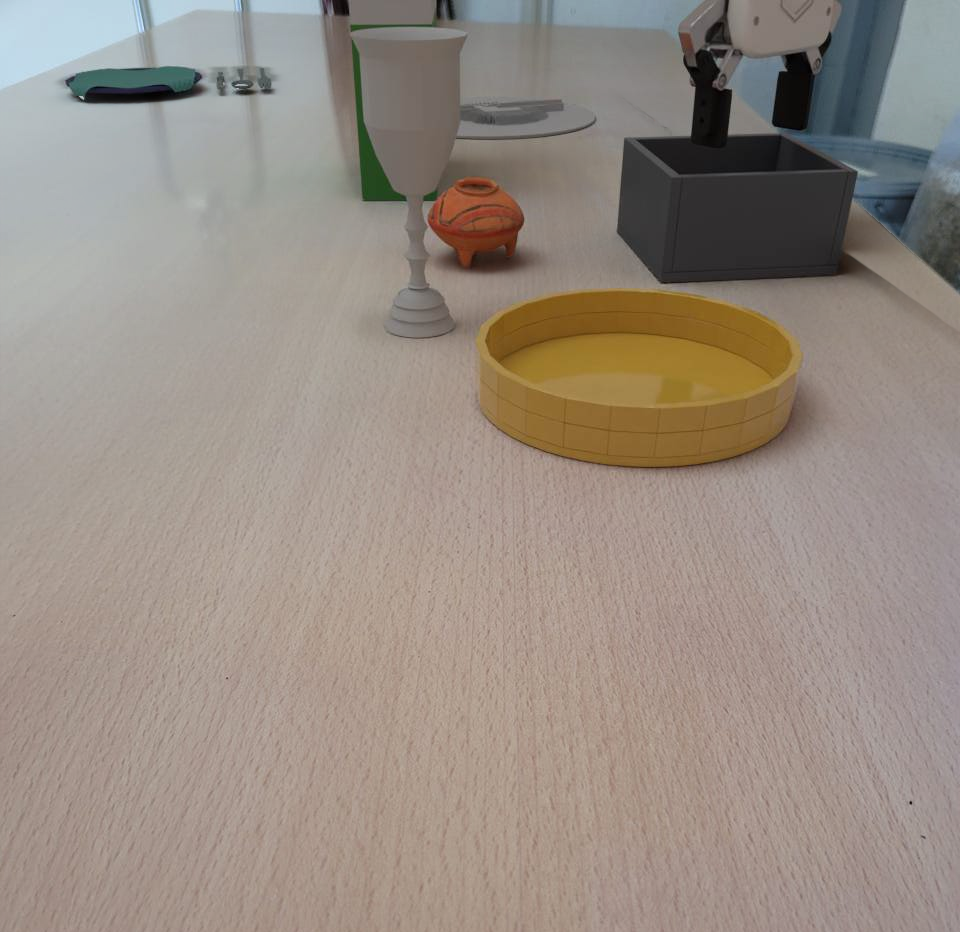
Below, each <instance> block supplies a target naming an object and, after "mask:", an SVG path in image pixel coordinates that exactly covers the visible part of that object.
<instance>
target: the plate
mask: <svg viewBox="0 0 960 932" xmlns="http://www.w3.org/2000/svg"><path fill="white" fill-rule="evenodd" d="M595 121H596V115H595V113H594V111H592V110H590V109H588V108H586V107H583V106H580V105H577V104H572V103H567V102H563V99H562V98H557V99H556V98H553V99H552V98H551V99H549V98H548V99H538V98H537V99H536V98H525V97H510V96H509V97H506V96H469V97H460V125H459V129H458V132H457V136H456V139H467V140H468V139H469V140H514V139H515V140H517V139H531V138H532V139H533V138H542V137H550V136H556V135H563V134H568V133H572V132H576V131H579V130H582V129H584V128H587V127H590V126H591V125H592V124H594V123H595Z"/></svg>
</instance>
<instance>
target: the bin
mask: <svg viewBox="0 0 960 932" xmlns="http://www.w3.org/2000/svg"><path fill="white" fill-rule="evenodd" d="M621 161H622V162H621V175H620V184H619V185H620V187H619V200H618V212H617V225H616V232H617V234H618V235H619V236H620V237H621V238H622V240H623V241H624V242H625V243H626V244H627V245H628V246H629V248H630V249H631V250H632V251H633V252H634V254H635V255H636V256H637V257H638V258H639V260H641V262H642V264H644V265H645V266H646V267H647V269H648V270H649V271H650V272H651V274H652V275H653V276H654V277H655V278H656V279H657V280H658V281H659V283H661V284H667V283H670V284H671V283H688V282H689V283H691V282H713V281H716V282H717V281H734V280H735V281H736V280H755V279H757V280H758V279H759V280H760V279H779V278H800V277H801V276H805V277H822V276H821V275H827V276H836V275H837V273H838V269H839V264H840V259H841V255H842V250H843V244H844V241H845V235H846V231H847V225H848V222H849V216H850V211H851V207H852V203H853V197H854V192H855V188H856V184H857V179H858V174H859V171H858V170H857V169H855V168H852V167H851V166H849V165H847V164H845V163H844V162H842V161H839V160H838V159H836V158H834V157H832V156H830V155H828V154H827V153H825V152H823V151H821V150H819V149H817V148H815V147H814V146H812V145H810V144H808V143H806V142H804V141H802V140H801V139H799V138H797V137H795V136H793V135H791V134H789V133H787V132H780V133H779V132H778V133H777V132H772V133H769V132H768V133H738V134H737V133H735V134H728V137H727V143H726V146H725V147H723V148H719V149H717V148H712V147H706V146H701V145H696V144H693V143H692V142H691V135H668V136H666V135H665V136H637V137H636V136H634V137H633V136H631V137H630V136H629V137H624V138H623V149H622V160H621ZM835 274H836V275H835ZM818 275H820V276H818ZM801 278H802V277H801Z"/></svg>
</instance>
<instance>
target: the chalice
mask: <svg viewBox="0 0 960 932" xmlns="http://www.w3.org/2000/svg"><path fill="white" fill-rule="evenodd" d="M349 35H350V38H351V37H352V39H353V41H354V43H355V46H356V48H357V50H358V52H359V55H360V71H361V86H362V102H363V118H364V123H365V126H366V129H367V132H368V134H369V137H370V140H371V143H372V145H373V148H374V151H375V154H376V156H377V158H378V160H379V162H380V164H381V166H382V168H383V170H384V172H385V174H386V176H387V178H388V180H389V182H390V184H391V186H392V188H393V190H394V191H396V192H398V193H400V194H402V195H404V196H406V199H407V200H406V203H407V207H408V209H407V218H406V222H405V224H404V225H403V228H404V230H405V231H406V233H407V236H408V239H409V244H408V249H407V251H406V252H405V253H404V254H403V257H404V258H405V259H406V260H407V261H408V264H409V269H410V276H409V277H410V278H409V282H408V283H407V284H406V288H402V289H400V290H398V292H397V293H396V294H395V296H394V297H393V299H392V304H391V307H390V308H389V310H388V317H387V319H386V320H385V322H384V329H385V330H386V331H387V332H388V333H390V334H392V335H395V336H399V337H404V338H417V339H418V338H432V337H438V336H441V335H445V334H448V333H449V332H452V330H454V328H455V326H456V324H455V323H456V322H455V321H454V319H453V318H452V316H451V315H450V308H449V307H448V305H447V304H446V300H445V296H443V295H442V293H441V292H440V290H438V289H436V288H434V287H430V286H431V284H430V283H429V282H427V279H426V275H425V270H426V264H427V260H428V259H429V258H430V257H431V254H430V253H429V252H428V251H427V250H426V246H425V243H424V239H425V234H426V232H427V230H428V228H429V225H428V224H427V223H426V220H425V217H424V211H423V204H424V200H423V198H424V196H425V195H427V194H429V193H431V192H433V191H435V190H436V188H437V186H438V187H439V183H440V181H441V178H442V176H443V174H444V172H445V169H446V167H447V165H448V163H449V160H450V158H451V155H452V152H453V149H454V146H455V143H456V139H457V138H456V136H457V132H458V129H459V125H460V98H461V55H460V54H461V52H462V50H463V47H464V45H465V43H466V40H467V38H468V35H469V33H468V32H467V31H465V30H460V29H457V28H456V29H454V28H448V27H447V28H446V27H437V28H434V27H386V28H372V29H363V30H357V31H353V32H351V31H350V32H349Z"/></svg>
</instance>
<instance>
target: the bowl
mask: <svg viewBox="0 0 960 932" xmlns="http://www.w3.org/2000/svg"><path fill="white" fill-rule="evenodd" d="M474 345H475V346H474V347H475V348H474V349H475V350H474V351H475V353H474V354H475V356H474V357H475V358H474V359H475V361H474V362H475V363H474V365H475V369H474V371H475V372H474V375H475V381H474V382H475V389H476V398H477V403H478V406H479V408H480V410H481V412H482V413H483V415H484V416H485V417H486V419H488V421H489V422H490V423H491V424H493V425H494V426H495V427H496V428H497V429H498V430H500V431H502V432H503V433H505V434H506V435H508V436H509V437H511V438H513V439H515V440H518V441H519V442H520V443H521V442H522V443H523V444H525V445H528V446H530V447H533V448H534V449H535V448H536V449H538V450H541V451H543V452H547V453H550V454H554V455H557V456H561V457H565V458H568V459H574V460H577V461H578V460H579V461H582V462H589V463H595V464H602V465H608V466H609V465H610V466H620V467H621V466H622V467H637V468H638V467H639V468H667V467H668V468H669V467H683V466H693V465H701V464H707V463H713V462H718V461H722V460H726V459H730V458H734V457H737V456H740V455H743V454H746V453H748V452H751V451H754V450H755V449H758V448H760V447H762V446H763V445H766V444H767V443H769V442H770V441H772V440H773V439H775V438H776V437H777V436H778V435H779V434H780V433H781V432H782V431H783V430H784V429H785V428H786V426H787V424H788V422H789V420H790V417H791V413H792V408H793V406H794V403H795V399H796V395H797V390H798V386H799V385H798V384H799V379H800V375H801V370H802V366H803V360H804V354H803V352H802V348H801V345H800V343H799V340H798V338H796V337H795V335H793V334H792V333H791V332H790V331H789V330H788V329H787V328H786V327H785V326H784V325H783V324H781V323H780V322H777V321H775V320H773V318H770V317H768V316H766V315H765V314H763V313H761V312H758V311H755V310H754V309H750V308H747V307H745V306H741V305H738V304H735V303H733V302H730V301H727V300H722V299H718V298H713V297H708V296H703V295H699V294H694V293H688V292H682V291H672V290H664V289H655V288H634V287H610V288H609V287H607V288H585V289H582V288H581V289H576V290H568V291H561V292H555V293H548V294H545V295H541V296H536V297H533V298H529V299H526V300H522V301H518V302H516V303H514V304H512V305H510V306H508V307H506V308H503V309H501V310H499V311H497V312H495V313H494V314H493V315H491V316H490V317H489V318H488V319H487V320H486V321H485V322H484V323H482V324H481V325H480V327H479V330H478V332H477V335H476V338H475V341H474Z"/></svg>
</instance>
